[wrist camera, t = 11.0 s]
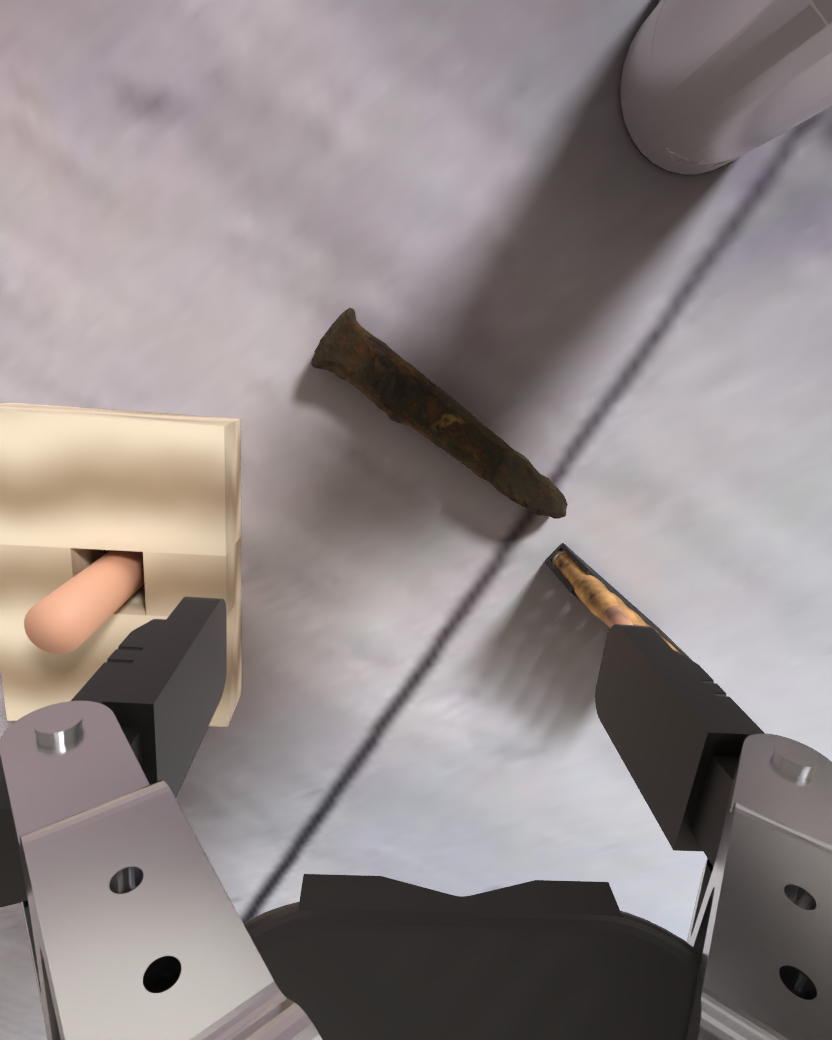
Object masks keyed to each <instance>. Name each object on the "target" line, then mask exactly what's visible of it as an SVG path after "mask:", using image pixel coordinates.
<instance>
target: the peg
mask: <svg viewBox="0 0 832 1040" xmlns="http://www.w3.org/2000/svg"><path fill="white" fill-rule="evenodd" d="M144 583H145V582H144V564H143V552H137V551H118V550H110V551H109V552H107V553H106V554H105V555H103V556H102V557H101V558H99V559H98V560H96V561H95V562H94V563H92V564H91V565H89V566H88V567H87V568H85V569H84V570H82V571H81V572H80V573H78V574H77V575H76V576H74V577H73V578H71V579H70V580H69V581H67V582H66V583H64V584H63V585H62V586H60V587H59V588H57V589H56V590H55V591H53V592H52V593H50V594H49V595H48V596H46V597H45V598H44V599H42V600H41V601H39V602H38V603H37V604H35V605H34V606H33V607H31V608H30V609H29V610H28V612H27V614H26V616H25V619H24V628H25V632H26V634H27V636H28V638H29V639H30V641H31V642H32V643H33V644H34V645H35V646H37V647H38V648H39V649H41V650H43V651H45V652H48V653H53V654H65V653H69V652H72V651H74V650H75V649H77V648H78V647H79V646H80V645H81V644H82V643H83V642H84V641H85V640H86V639H87V638H89V637H90V636H91V635H92V634H93V633H94V632H95V631H96V630H97V629H98V628H99V627H100V626H101V625H102V624H103V623H104V622H105V621H106V620H107V619H108V618H109V617H110V616H111V615H112V614H113V613H114V612H115V611H116V610H118V609H119V608H120V607H121V606H122V605H123V604H124V603H125V602H126V601H127V600H128V599H129V598H130V597H131V596H132V595H133V594H134V593H135V592H136V591H137V590H138V589H139V588H140V587H141V586H142V585H143V584H144Z"/></svg>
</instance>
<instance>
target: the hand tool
mask: <svg viewBox="0 0 832 1040" xmlns="http://www.w3.org/2000/svg"><path fill="white" fill-rule="evenodd" d="M311 364H312V366H313V367H315V368H319V369H325V370H329V371H331V372H333V373H335V374H337V375H338V376H339V377H340V378H342V379H347V380H348V381H349V382H350V383H352V384H353V385H355V386H356V387H357V388H358V389H360V390H361V391H362V392H363V393H364V394H365V395H366V396H367V397H368V398H369V399H370V400H372V401H373V402H375V403H376V405H377V406H378V407H379V408H380V409H383V410H384V411H385V412H386V413H387V414H388V416H389V418H390V419H391V420H393V421H395V422H398V423H403V424H406V425H408V426H411V427H413V428H414V429H416V430H417V431H418V432H420V433H421V434H422V435H424V436H425V437H426V438H428V439H429V440H430V441H432V442H433V443H434V444H436V445H437V446H439V447H440V448H442V449H443V450H445V451H446V452H448V453H449V454H450V455H452V456H453V457H454V458H456V459H457V460H459V461H460V462H462V463H463V464H464V465H466V466H467V467H468V468H470V469H471V470H472V471H473V472H474V473H476V474H477V475H478V476H479V477H481V478H483V479H485V480H487V481H488V482H490V483H491V484H492V485H493V486H494V487H495V488H496V489H497V490H498V491H499V492H501V493H502V494H504V495H505V496H507V497H508V498H510V499H511V500H513V501H514V502H516V503H518V504H520V505H521V506H523V507H525V508H527V509H529V510H531V511H533V512H534V513H536V514H538V515H544V516H550V517H552V518H562V517H565V516H566V508H567V502H566V499H565V497H564V495H563V494H562V493H561V491H560V490H559V489H558V488H557V487H556V486H555V485H554V484H553V483H552V482H551V481H550V479H549V478H547V477H545V476H543V475H541V474H540V473H539V472H538V471H537V470H536V469H535V468H534V467H533V465H532V464H531V463H530V461H529V460H528V459H527V458H525V457H524V456H523V455H522V454H520V453H518V452H517V451H515V450H514V449H512V448H511V447H510V446H509V445H508V444H507V443H505V442H504V441H503V440H502V439H500V438H499V437H498V436H497V435H495V434H494V433H493V432H492V431H491V430H489V429H488V428H487V427H485V426H484V425H483V424H482V423H480V422H479V421H478V420H477V419H476V418H475V417H474V416H472V415H471V414H470V413H469V412H468V411H467V410H466V409H464V408H463V407H462V406H461V405H460V404H458V403H457V402H456V401H455V400H453V399H452V398H451V397H449V396H448V395H447V394H446V393H445V392H444V391H443V390H441V389H440V388H439V387H437V386H436V385H435V384H433V383H432V382H431V381H430V380H428V379H427V378H426V377H425V376H424V375H422V374H421V373H420V372H419V371H418V370H416V369H415V368H414V367H413V366H412V365H410V364H409V363H408V362H406V361H405V360H403V359H402V358H401V357H400V356H399V355H398V354H397V353H395V352H394V351H393V350H392V349H391V348H389V347H388V346H387V345H386V344H385V343H384V342H382V341H381V340H379V339H377V338H376V337H374V336H373V335H372V334H370V333H369V332H368V331H366V330H365V329H364V328H363V327H361V326H360V324H359V323H358V322H357V321H356V316H355V311H354V309H352V308H349V309H347V310H346V311H345V312H343V313H342V314H341V315H340V316H339V317H338V319H337V320H336V321H335V322H334V323H333V324H332V325H331V327H330V328H329V329H328V331H327V332H326V333H325V335H324V336H323V337H322V339H321V340H320V343H319V345H318V347H317V349H316V350H315V354H314V357H313V359H312V362H311Z"/></svg>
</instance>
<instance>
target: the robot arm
mask: <svg viewBox="0 0 832 1040" xmlns="http://www.w3.org/2000/svg"><path fill="white" fill-rule="evenodd" d="M831 106H832V0H659V2H658V5H657V6H656V8H655V9H654V10H653V11H652V13H651V14H650V15H649V16H648V18H647V19H646V20H645V21H644V23H643V24H642V25H641V26H640V28H639V30H638V32H637V34H636V35H635V37H634V39H633V41H632V43H631V44H630V47H629V50H628V53H627V56H626V59H625V62H624V65H623V71H622V78H621V107H622V112H623V116H624V121H625V124H626V126H627V129H628V131H629V134H630V136H631V138H632V140H633V141H634V143H635V144H636V146H637V147H638V149H639V150H640V151H641V153H642V154H644V155H645V156H646V157H647V158H648V159H649V160H650V161H651V162H652V163H654V164H655V165H657V166H659V167H661V168H663V169H665V170H667V171H670V172H674V173H679V174H701V173H705V172H709V171H713V170H715V169H717V168H719V167H721V166H723V165H725V164H727V163H729V162H731V161H734V160H736V159H738V158H739V157H740V156H742V155H744V154H745V153H747V152H749V151H751V150H753V149H754V148H756V147H758V146H760V145H762V144H764V143H766V142H768V141H770V140H771V139H773V138H775V137H777V136H779V135H780V134H782V133H784V132H786V131H788V130H789V129H791V128H793V127H795V126H797V125H798V124H800V123H802V122H804V121H806V120H807V119H809V118H811V117H813V116H815V115H816V114H818V113H820V112H822V111H824V110H825V109H827V108H829V107H831ZM226 671H227V621H226V603H225V600H224V599H220V598H204V597H188V596H185V597H184V598H183V599H182V600H181V601H180V603H179V604H178V605H177V606H176V608H175V609H174V610H173V611H172V613H171V614H170V615H169V617H168V618H167V619H166V620H165V619H153V620H151V621H149V622H147V623H145V624H144V625H142V626H140V627H138V628H136V629H135V630H133V631H131V632H130V634H129V635H128V636H127V637H126V638H125V639H124V640H123V642H122V643H121V644H120V645H119V646H118V649H116V650H115V651H114V652H113V653H112V654H111V655H110V656H109V658H108V659H107V662H104V663H103V664H102V666H101V667H100V668H99V669H98V670H97V671H96V672H95V674H94V675H93V676H92V677H91V678H90V679H89V680H88V682H87V683H86V684H85V685H84V686H83V687H82V688H81V690H80V691H79V692H78V693H77V694H76V695H75V696H74V698H73V699H72V700H71V701H68V702H61V703H57V704H52V705H49V706H46V707H43V708H40V709H38V710H35V711H33V712H31V713H29V714H27V715H25V716H23V717H22V718H20V719H19V720H17V721H16V722H14V723H13V724H12V725H11V726H10V727H9V728H8V729H7V730H6V731H5V732H4V734H3V735H2V737H1V739H0V907H4V906H8V905H12V904H16V903H20V902H22V908H23V913H24V918H25V923H26V928H27V933H28V939H29V944H30V949H31V954H32V959H33V964H34V969H35V974H36V980H37V985H38V990H39V995H40V1000H41V1005H42V1010H43V1016H44V1021H45V1026H46V1032H47V1038H48V1040H832V762H831V761H830V760H829V759H828V758H826V757H825V756H823V755H822V754H821V753H819V752H817V751H816V750H814V749H812V748H810V747H808V746H806V745H804V744H802V743H800V742H797V741H795V740H792V739H789V738H786V737H782V736H778V735H773V734H765V733H764V732H763V731H762V730H761V729H760V728H759V727H758V726H757V725H756V724H755V723H754V722H753V721H752V720H751V719H750V718H749V717H748V716H747V715H746V713H745V712H744V711H743V710H742V709H741V708H740V707H739V706H738V705H737V704H736V703H735V702H734V701H733V700H732V699H731V698H730V697H726V693H725V692H724V691H723V690H722V689H721V688H720V687H719V686H718V684H715V683H714V682H713V681H714V680H713V679H712V678H711V677H710V676H709V675H708V674H707V673H706V672H705V671H704V670H703V669H702V668H701V667H700V666H699V665H698V664H696V663H695V662H693V661H692V660H690V659H688V658H687V657H685V656H684V655H682V654H680V653H679V652H677V651H674V650H673V649H672V648H671V647H670V646H669V645H668V643H667V642H666V641H665V640H664V639H663V638H662V637H661V636H660V635H659V634H658V633H657V632H656V631H655V630H654V629H653V628H652V627H650V626H638V625H622V624H614V625H613V626H612V627H611V628H610V630H609V632H608V635H607V640H606V644H605V649H604V653H603V658H602V663H601V667H600V672H599V677H598V681H597V686H596V693H595V702H596V709H597V714H598V717H599V719H600V721H601V723H602V725H603V726H604V728H605V730H606V732H607V733H608V735H609V737H610V739H611V740H612V742H613V744H614V746H615V748H616V749H617V751H618V753H619V755H620V756H621V758H622V760H623V762H624V763H625V765H626V767H627V769H628V771H629V772H630V774H631V776H632V778H633V779H634V781H635V783H636V785H637V786H638V788H639V790H640V792H641V794H642V795H643V797H644V799H645V801H646V802H647V804H648V806H649V808H650V809H651V811H652V813H653V815H654V817H655V818H656V820H657V822H658V824H659V825H660V827H661V829H662V831H663V832H664V834H665V836H666V838H667V840H668V841H669V843H670V845H671V847H672V848H673V850H681V851H704V853H705V854H706V856H707V860H706V863H705V866H704V870H703V873H702V876H701V881H700V885H699V890H698V894H697V898H696V903H695V907H694V912H693V916H692V920H691V925H690V929H689V934H688V938H687V942H686V941H684V940H683V939H681V938H679V937H678V936H676V935H674V934H673V933H671V932H669V931H668V930H666V929H664V928H662V927H660V926H658V925H656V924H654V923H652V922H650V921H648V920H645V919H643V918H640V917H637V916H635V915H632V914H629V913H626V912H623V911H620V910H619V907H618V905H617V902H616V900H615V898H614V895H613V893H612V890H611V888H610V885H609V883H608V882H581V881H544V880H535V881H531V882H526V883H522V884H518V885H514V886H510V887H505V888H501V889H497V890H493V891H488V892H484V893H480V894H476V895H472V896H466V897H459V896H453V895H450V894H446V893H442V892H438V891H435V890H431V889H427V888H423V887H420V886H416V885H412V884H408V883H405V882H401V881H397V880H393V879H390V878H386V877H382V876H356V875H319V874H304V876H303V883H302V889H301V896H300V902H297V903H293V904H289V905H285V906H282V907H279V908H276V909H273V910H271V911H268V912H265V913H263V914H261V915H259V916H257V917H255V918H253V919H251V920H249V921H247V922H245V923H243V922H242V921H241V919H240V917H239V915H238V913H237V911H236V909H235V908H234V906H233V904H232V902H231V900H230V898H229V896H228V895H227V893H226V891H225V889H224V887H223V885H222V884H221V882H220V880H219V878H218V876H217V874H216V872H215V871H214V869H213V867H212V865H211V863H210V861H209V859H208V858H207V856H206V854H205V852H204V850H203V848H202V846H201V845H200V843H199V841H198V839H197V837H196V835H195V834H194V832H193V830H192V828H191V826H190V824H189V822H188V821H187V819H186V817H185V815H184V813H183V811H182V809H181V808H180V806H179V804H178V802H177V800H176V796H177V794H178V792H179V789H180V787H181V785H182V783H183V781H184V779H185V776H186V774H187V772H188V770H189V768H190V765H191V763H192V761H193V759H194V757H195V755H196V752H197V750H198V748H199V746H200V744H201V742H202V739H203V737H204V735H205V733H206V731H207V728H208V726H209V724H210V722H211V720H212V718H213V715H214V713H215V711H216V709H217V707H218V705H219V702H220V700H221V698H222V695H223V691H224V686H225V681H226Z"/></svg>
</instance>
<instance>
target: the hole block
mask: <svg viewBox="0 0 832 1040" xmlns="http://www.w3.org/2000/svg"><path fill="white" fill-rule="evenodd" d="M103 550H118V551H137V552H143V564H144V582H145V589H138V590H137V591H136V592H135V593H134V594H133V595H132V596H131V597H130V598H129V599H128V600H127V601H126V602H125V603H124V604H123V605H122V606H121V607H120V608H119V609H118V610H116V611H115V612H114V613H113V614H112V615H111V616H110V617H109V618H108V619H107V620H106V621H105V622H104V623H103V624H102V625H101V626H100V627H99V628H98V629H97V630H96V631H95V632H94V633H93V634H92V635H91V636H90V637H89V638H87V639H86V640H85V641H84V642H83V643H82V644H81V645H80V646H79V647H78V648H77V649H75V650H74V651H72V652H69V653H65V654H53V653H48V652H45V651H43V650H41V649H39V648H38V647H37V646H35V645H34V644H33V643H32V642H31V641H30V639H29V638H28V636H27V634H26V632H25V628H24V619H25V616H26V614H27V612H28V610H29V609H30V608H31V607H33V606H34V605H35V604H37V603H38V602H39V601H41V600H42V599H44V598H45V597H46V596H48V595H49V594H50V593H52V592H53V591H55V590H56V589H57V588H59V587H60V586H62V585H63V584H64V583H66V582H67V581H69V580H70V579H71V578H73V577H74V576H76V575H77V574H78V573H80V572H81V571H82V570H84V569H85V568H87V567H88V566H89V565H91V564H92V563H94V562H95V561H96V560H98V559H99V558H101V557H102V556H103ZM185 596H188V597H204V598H220V599H224V600H225V603H226V621H227V671H226V681H225V686H224V691H223V695H222V698H221V700H220V702H219V705H218V707H217V709H216V711H215V713H214V715H213V718H212V720H211V722H210V724H209V726H219V727H228V725H229V723H230V720H231V718H232V715H233V713H234V711H235V708H236V706H237V703H238V701H239V698H240V696H241V693H242V647H241V434H240V419H233V418H219V417H205V416H191V415H177V414H163V413H149V412H135V411H121V410H107V409H93V408H79V407H65V406H51V405H37V404H23V403H3V404H0V670H1V678H2V685H3V693H4V700H5V708H6V715H7V721H17V720H19V719H20V718H22V717H23V716H25V715H27V714H29V713H31V712H33V711H35V710H38V709H40V708H43V707H46V706H49V705H52V704H57V703H61V702H68V701H71V700H72V699H73V698H74V696H75V695H76V694H77V693H78V692H79V691H80V690H81V688H82V687H83V686H84V685H85V684H86V683H87V682H88V680H89V679H90V678H91V677H92V676H93V675H94V674H95V672H96V671H97V670H98V669H99V668H100V667H101V666H102V664H103V663H104V662H107V659H108V658H109V656H110V655H111V654H112V653H113V652H114V651H115V650H116V649H118V646H119V645H120V644H121V643H122V642H123V640H124V639H125V638H126V637H127V636H128V635H129V634H130V632H131V631H133V630H135V629H136V628H138V627H140V626H142V625H144V624H145V623H147V622H149V621H151V620H153V619H165V620H166V619H167V618H168V617H169V615H170V614H171V613H172V611H173V610H174V609H175V608H176V606H177V605H178V604H179V603H180V601H181V600H182V599H183V598H184V597H185Z"/></svg>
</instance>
